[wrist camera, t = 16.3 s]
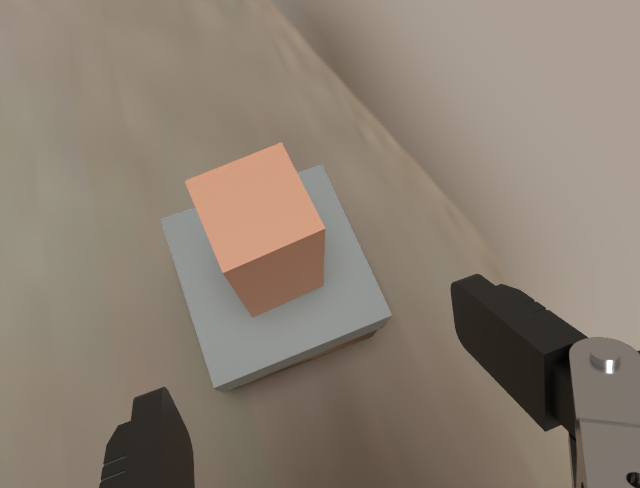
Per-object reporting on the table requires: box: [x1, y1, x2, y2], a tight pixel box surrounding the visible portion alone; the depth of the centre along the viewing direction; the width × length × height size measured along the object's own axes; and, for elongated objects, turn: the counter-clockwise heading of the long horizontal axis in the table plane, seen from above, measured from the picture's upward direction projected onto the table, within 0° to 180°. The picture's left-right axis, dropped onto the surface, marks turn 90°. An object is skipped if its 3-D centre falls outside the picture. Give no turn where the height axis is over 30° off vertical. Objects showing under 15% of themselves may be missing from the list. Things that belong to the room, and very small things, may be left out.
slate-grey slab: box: [160, 164, 392, 392], centre depth 33 cm, size 12×12×4 cm
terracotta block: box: [185, 142, 326, 318], centre depth 27 cm, size 5×5×10 cm
